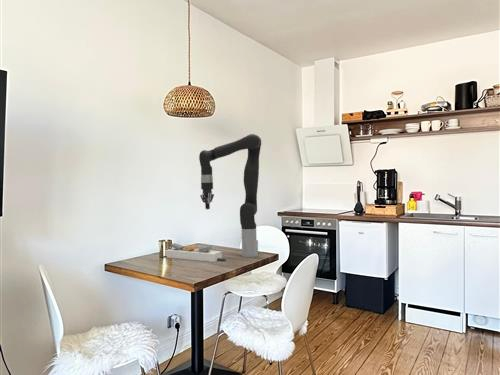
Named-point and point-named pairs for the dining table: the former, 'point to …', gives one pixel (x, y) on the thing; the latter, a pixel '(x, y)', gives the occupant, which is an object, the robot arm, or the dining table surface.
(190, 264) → the dining table surface
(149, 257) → the dining table surface
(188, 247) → the rocker middle
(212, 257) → the power strip
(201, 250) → the rocker near
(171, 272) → the dining table surface
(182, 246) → the rocker far
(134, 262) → the dining table surface
